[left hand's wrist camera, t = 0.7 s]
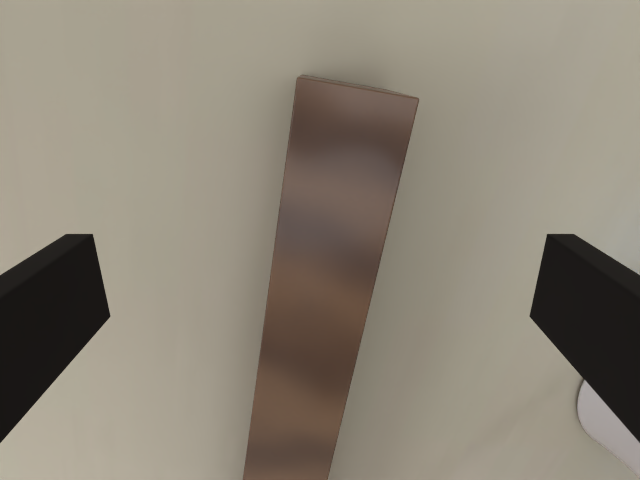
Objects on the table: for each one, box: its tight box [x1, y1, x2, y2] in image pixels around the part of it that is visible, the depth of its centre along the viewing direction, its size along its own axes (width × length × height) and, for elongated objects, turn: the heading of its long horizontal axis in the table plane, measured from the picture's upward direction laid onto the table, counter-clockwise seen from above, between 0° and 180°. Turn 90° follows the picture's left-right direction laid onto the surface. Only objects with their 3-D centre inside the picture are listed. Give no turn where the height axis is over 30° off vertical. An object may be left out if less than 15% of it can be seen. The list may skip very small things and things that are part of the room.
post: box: [243, 75, 419, 480], centre depth 32 cm, size 54×6×8 cm, turn 171°
